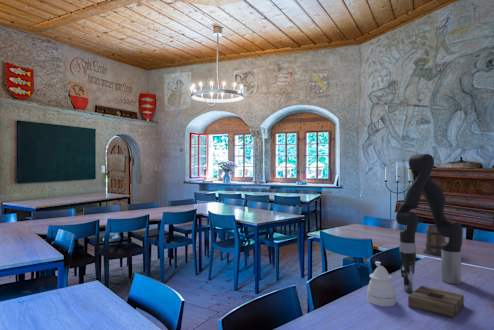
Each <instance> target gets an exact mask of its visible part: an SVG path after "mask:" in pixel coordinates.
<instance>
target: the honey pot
mask: <svg viewBox="0 0 494 330" xmlns="http://www.w3.org/2000/svg"><path fill="white" fill-rule="evenodd" d="M381 263H382V262H381V261H374V264H375V265H376V268H375V269H374V270H373V273H370V274H369V278H370V280H369V282H368V286H367V287H366V292H367V293H366V295H367V296H366V297H367V299H366V300H367V301H368V302H369V303H370V304H372V305H374V306H381V307H392V306H395V305H396V304H397V291H396V289H395V286H394V283H393V280H392V278H393V277H392V275H390V274H389V272H388V271H387V269H386V268H385V267H384V266H383V265H381Z"/></svg>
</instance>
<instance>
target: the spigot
mask: <svg viewBox="0 0 494 330" xmlns="http://www.w3.org/2000/svg"><path fill="white" fill-rule="evenodd" d="M407 272H408V271H407ZM412 278H413V276H412V270H410V274H409V285H408V286H406V285H404V284H403V291H404V293H407V294H412V293H413V292H414V289H413V288H414V287H413V281H414V280H413V279H412Z"/></svg>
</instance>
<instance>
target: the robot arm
mask: <svg viewBox="0 0 494 330" xmlns="http://www.w3.org/2000/svg"><path fill="white" fill-rule="evenodd" d="M434 165H435V159H434V156H432V155H431V154H429V153H422V154H414V155H410V157H409V158H408V166H409V169H410V170H411V172H412V174H413V176H414V177H415V180H414V181H413V182H412V184H410V186H409V187H408V189H407V191H406V192H405V197H404V200H403V203H402V204H401V206H400V207H399V209H398V211H397V212H396V216H395V219H396V223H397V224H398V225H401V226H407V227H406V229H402V230H400V232H399V260H401V261H402V262H403V263H402V265H401V266H400V275H401V278H403V286H404V285H406V286H408V285H409V274H410V270H412V279H413V276H414V274H415V267H416V260H417V251H416V250H417V247H416V233H417V232H416V231H417V228H418V224H419V221H420V219H419V217H418V214H417V213H415V212H412V211H411V210H416V209H418V208H419V204H420V202H421V197H422V194H423V196H424V198H425V201H426V203H427V205H428V208H429V209H430V212H431V214H432V216H433V217H432V218H433V220H434V221H433V222H434V225H436V227H437V230H438V232H439V234H440V235H441V236H444V237H445V238H448V242H447V243H444V244H442V245H441V255H442V256H441V281H442V282H445V283H448V284H453V285H459V284H462V254H461V253H462V252H461V251H462V249H461V248H462V246H463V227H462V224H461V223H460V222H458V221H452V220H448V219H447V217H446V215H445V213H444V211H445V208H446V207H445V206H446V203H447V201H446V197H445V194H444V191H443V190H442V188H441V186H439V185H438V184H437V183H436V182H435V181H433V180H432V179H431V178H430V175H431V174H432V171H433V169H434ZM407 271H408V272H407Z"/></svg>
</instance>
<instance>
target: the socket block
mask: <svg viewBox="0 0 494 330" xmlns="http://www.w3.org/2000/svg"><path fill="white" fill-rule="evenodd" d="M407 297H408V299H407V301H408V308H411V309H415V310H419V311H422V312H426V313H429V314H430V313H431V314H433V315H437V316H441V317H445V318H448V319H453V320H454V319H455V317H457V315H458V313H459V312H460V311H461V310H462V309H463V307H465V306H464V305H465V303H464V301H465V297H464V294H461V293H457V292H451V291H447V290H443V289H439V288H433V287H430V286H424V285H421V286H419V287H418V288H416V289H415V290H413V292H412V293H409V295H407Z"/></svg>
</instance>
